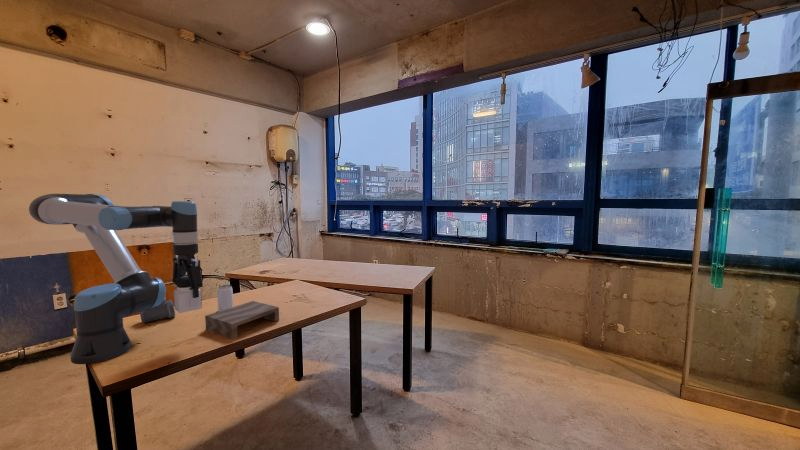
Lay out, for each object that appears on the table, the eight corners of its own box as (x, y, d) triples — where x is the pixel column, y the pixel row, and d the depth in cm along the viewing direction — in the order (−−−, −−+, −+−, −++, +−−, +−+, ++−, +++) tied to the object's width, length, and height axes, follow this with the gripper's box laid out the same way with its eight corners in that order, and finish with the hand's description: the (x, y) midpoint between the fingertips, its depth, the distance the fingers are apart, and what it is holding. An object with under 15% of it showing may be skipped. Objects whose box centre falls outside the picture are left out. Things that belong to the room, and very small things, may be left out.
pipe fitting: (174, 312, 146) (170, 292, 144) (177, 318, 141) (173, 298, 138) (141, 322, 138) (137, 301, 136) (143, 329, 133) (138, 307, 130)
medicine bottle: (202, 308, 115) (201, 277, 114) (179, 313, 110) (177, 280, 109) (196, 304, 120) (195, 273, 119) (174, 308, 114) (173, 276, 113)
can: (236, 309, 152) (235, 285, 151) (222, 313, 147) (221, 289, 146) (228, 307, 155) (227, 284, 155) (215, 311, 150) (214, 287, 149)
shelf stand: (205, 329, 128) (205, 315, 128) (253, 313, 147) (252, 300, 147) (232, 339, 120) (232, 324, 119) (279, 320, 139) (278, 307, 138)
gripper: (212, 244, 111) (214, 305, 113) (181, 240, 121) (183, 296, 123) (190, 247, 104) (193, 312, 106) (159, 242, 114) (162, 302, 116)
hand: (188, 303), depth 114 cm, fingers closed on medicine bottle, 8 cm apart
